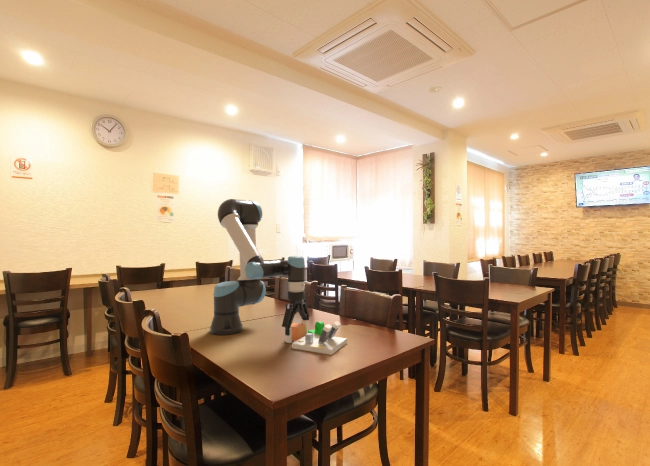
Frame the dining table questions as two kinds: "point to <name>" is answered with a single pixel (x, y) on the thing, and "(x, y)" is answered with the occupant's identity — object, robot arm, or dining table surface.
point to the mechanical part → (317, 328)
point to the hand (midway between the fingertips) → (296, 338)
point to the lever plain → (333, 329)
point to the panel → (324, 348)
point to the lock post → (309, 338)
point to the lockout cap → (298, 331)
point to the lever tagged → (324, 334)
